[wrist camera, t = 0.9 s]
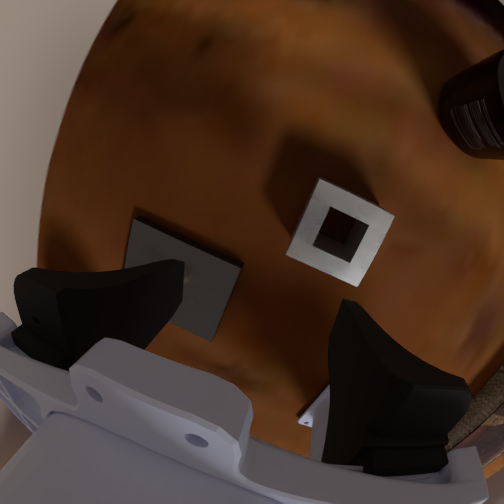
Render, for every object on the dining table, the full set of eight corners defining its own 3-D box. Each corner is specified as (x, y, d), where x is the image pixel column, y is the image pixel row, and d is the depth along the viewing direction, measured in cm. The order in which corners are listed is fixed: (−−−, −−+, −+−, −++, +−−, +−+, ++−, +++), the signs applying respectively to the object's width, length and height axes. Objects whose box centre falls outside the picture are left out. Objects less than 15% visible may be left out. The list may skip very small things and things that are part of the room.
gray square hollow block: (379, 205, 18) (394, 216, 15) (350, 264, 20) (357, 287, 17) (318, 175, 19) (319, 178, 15) (291, 237, 21) (285, 254, 17)
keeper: (243, 263, 22) (229, 285, 18) (214, 336, 25) (199, 362, 21) (139, 216, 23) (111, 227, 19) (126, 289, 26) (102, 307, 22)
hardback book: (431, 482, 29) (433, 501, 25) (364, 477, 30) (364, 501, 26) (545, 382, 19) (557, 400, 14) (505, 356, 20) (522, 381, 15)
